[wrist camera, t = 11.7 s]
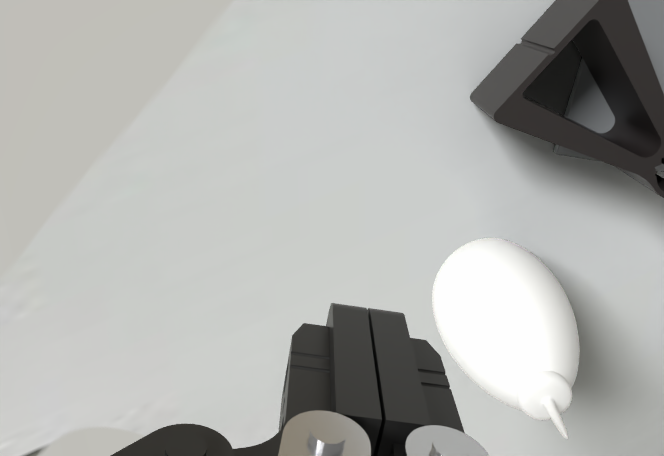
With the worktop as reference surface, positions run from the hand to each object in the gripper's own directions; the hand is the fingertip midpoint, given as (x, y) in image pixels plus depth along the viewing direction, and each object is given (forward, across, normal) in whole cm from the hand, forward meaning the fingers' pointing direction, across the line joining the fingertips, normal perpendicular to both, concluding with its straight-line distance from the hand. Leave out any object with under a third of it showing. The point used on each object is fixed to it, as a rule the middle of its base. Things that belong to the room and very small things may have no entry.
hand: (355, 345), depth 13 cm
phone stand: (+26, -10, -6) cm, 28 cm away
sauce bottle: (+29, -12, +10) cm, 33 cm away
